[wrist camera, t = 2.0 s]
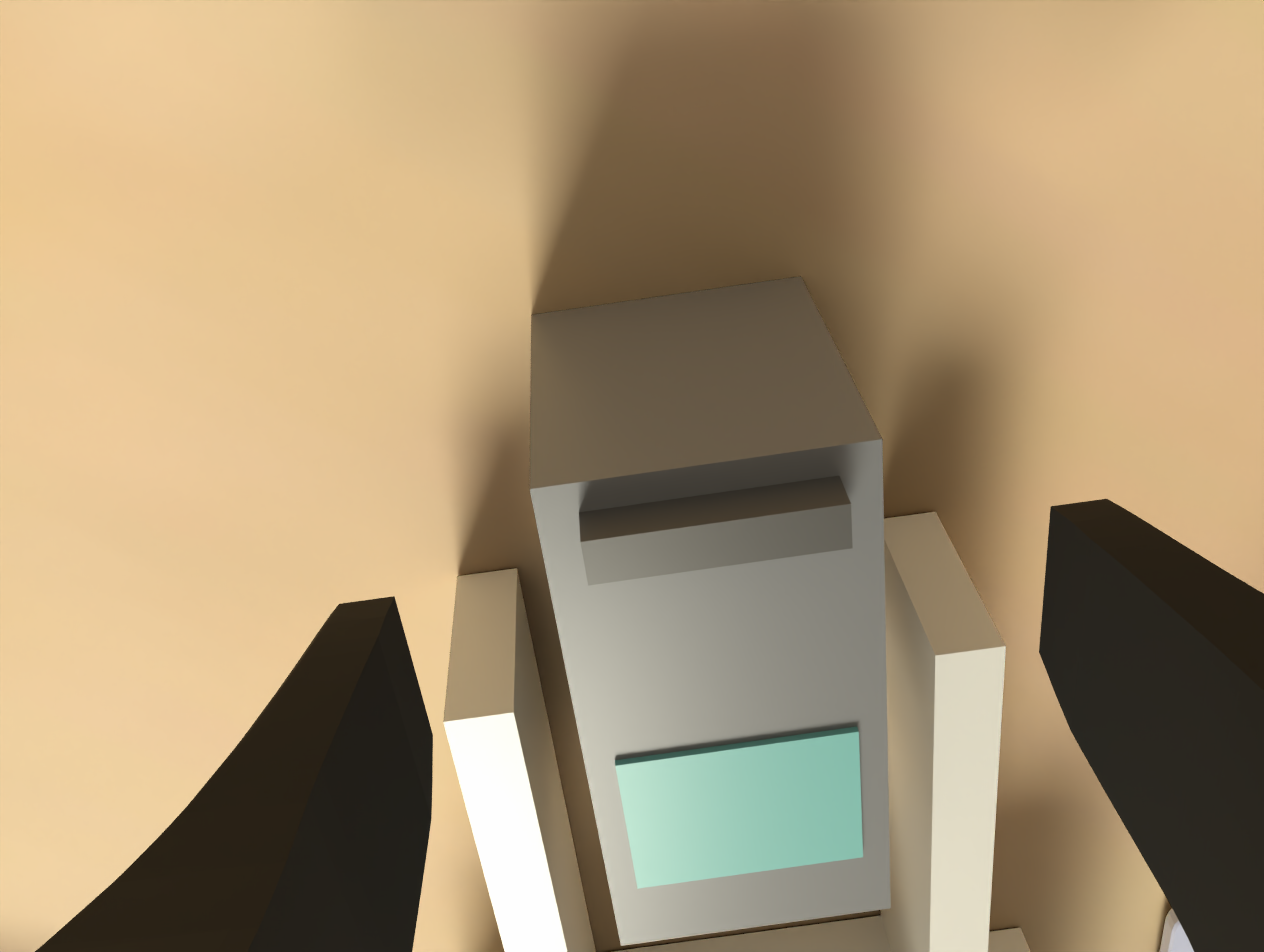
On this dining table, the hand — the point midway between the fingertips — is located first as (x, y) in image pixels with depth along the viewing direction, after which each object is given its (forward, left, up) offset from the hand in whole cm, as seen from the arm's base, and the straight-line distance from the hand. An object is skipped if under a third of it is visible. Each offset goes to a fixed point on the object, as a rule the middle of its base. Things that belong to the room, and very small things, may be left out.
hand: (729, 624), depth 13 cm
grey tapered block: (0, +3, -6) cm, 7 cm away
